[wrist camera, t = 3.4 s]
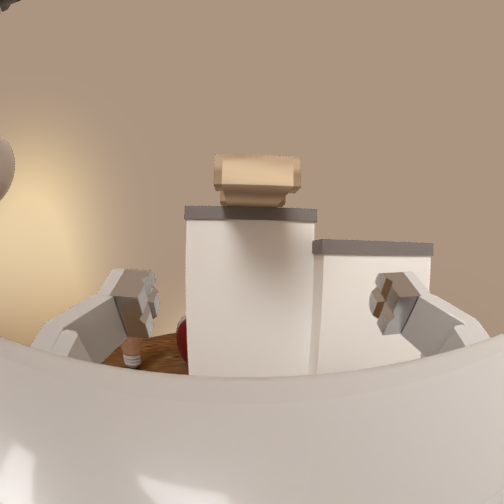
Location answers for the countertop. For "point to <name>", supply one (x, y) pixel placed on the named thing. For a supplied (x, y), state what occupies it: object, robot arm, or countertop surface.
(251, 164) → the serving board
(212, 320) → the counter block
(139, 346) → the light bulb
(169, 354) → the countertop surface
